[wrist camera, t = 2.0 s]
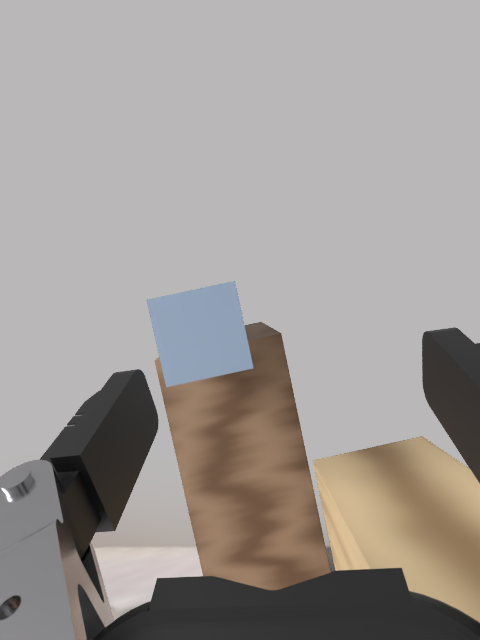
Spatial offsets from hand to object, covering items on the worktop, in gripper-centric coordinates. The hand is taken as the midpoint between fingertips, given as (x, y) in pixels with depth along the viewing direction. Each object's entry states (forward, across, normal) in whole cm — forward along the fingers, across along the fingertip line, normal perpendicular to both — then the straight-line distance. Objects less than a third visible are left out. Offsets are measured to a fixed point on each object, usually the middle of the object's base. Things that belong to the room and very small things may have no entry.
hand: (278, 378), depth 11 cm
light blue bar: (+19, +6, +7) cm, 21 cm away
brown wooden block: (+14, +5, +40) cm, 42 cm away
